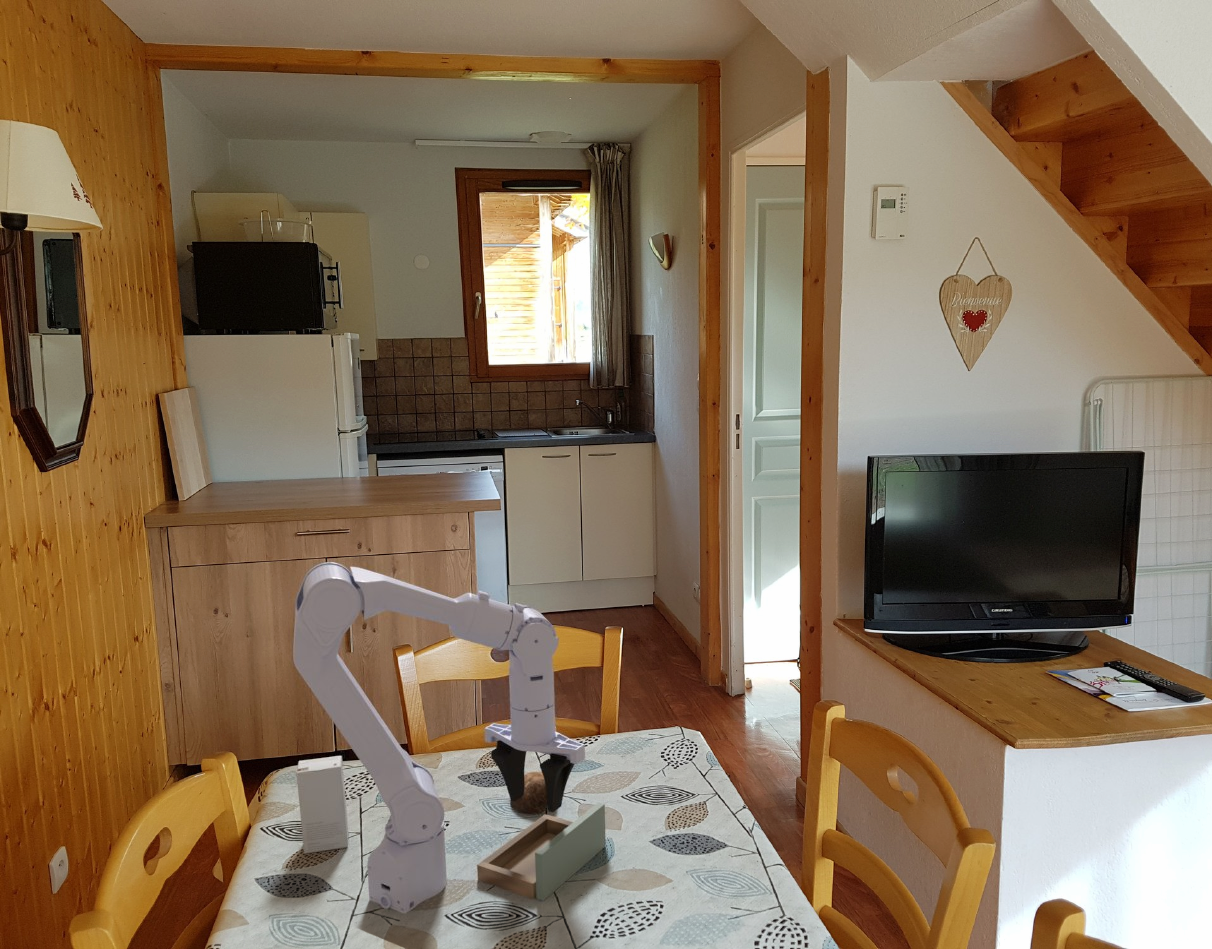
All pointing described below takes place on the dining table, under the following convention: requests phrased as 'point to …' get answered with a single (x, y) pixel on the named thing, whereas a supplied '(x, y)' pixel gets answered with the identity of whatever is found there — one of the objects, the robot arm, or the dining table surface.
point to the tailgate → (569, 851)
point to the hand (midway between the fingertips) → (535, 803)
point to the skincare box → (322, 804)
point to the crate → (520, 857)
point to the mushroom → (532, 795)
